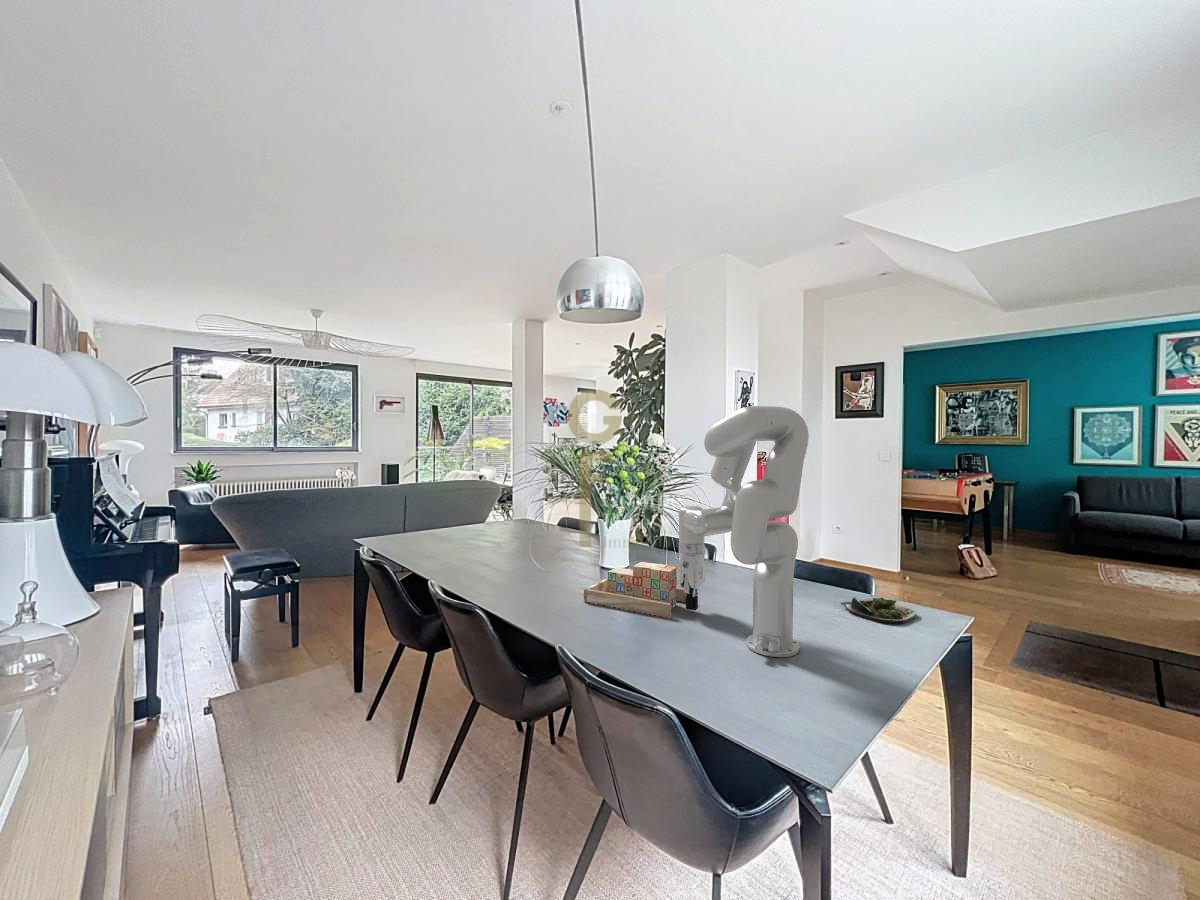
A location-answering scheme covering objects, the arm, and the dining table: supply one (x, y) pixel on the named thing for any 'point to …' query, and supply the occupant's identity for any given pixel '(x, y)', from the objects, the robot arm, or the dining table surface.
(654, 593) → the stack of blocks
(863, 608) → the salad plate
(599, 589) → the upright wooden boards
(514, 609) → the dining table surface
